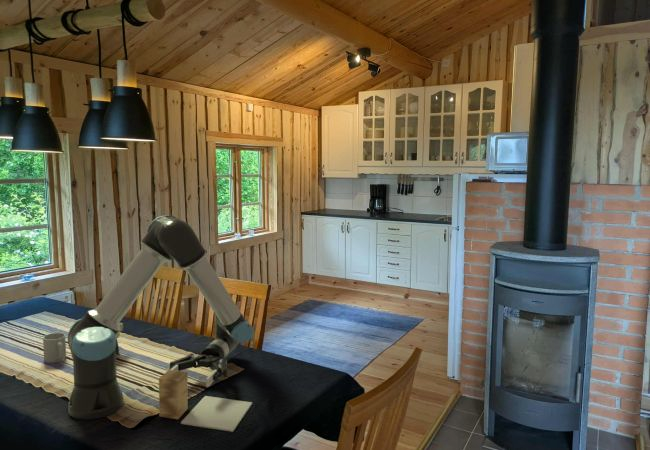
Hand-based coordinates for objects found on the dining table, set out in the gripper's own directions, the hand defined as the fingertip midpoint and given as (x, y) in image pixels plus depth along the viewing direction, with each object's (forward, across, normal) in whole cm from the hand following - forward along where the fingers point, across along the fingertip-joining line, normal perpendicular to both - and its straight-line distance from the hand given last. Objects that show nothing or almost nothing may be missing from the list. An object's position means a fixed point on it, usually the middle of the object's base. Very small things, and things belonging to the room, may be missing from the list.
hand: (187, 380), depth 150 cm
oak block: (+8, 0, -7) cm, 10 cm away
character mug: (-25, +44, -7) cm, 51 cm away
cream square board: (+5, -12, -7) cm, 15 cm away
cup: (-15, +59, -7) cm, 62 cm away
